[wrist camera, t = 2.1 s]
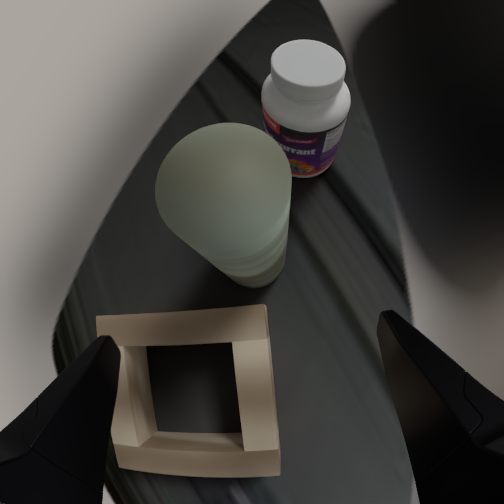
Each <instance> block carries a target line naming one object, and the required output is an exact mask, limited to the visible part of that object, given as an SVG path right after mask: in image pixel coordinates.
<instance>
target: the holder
mask: <svg viewBox="0 0 504 504" xmlns="http://www.w3.org/2000/svg"><path fill="white" fill-rule="evenodd" d="M96 325H97V338H98V337H99V336H101V335H110V336H111V337H112V338H113V340H114V341H115V343H116V344H117V346H118V348H119V349H120V352H121V362H120V371H119V382H118V392H117V398H116V404H115V409H114V415H113V420H112V426H111V435H112V440H113V444H114V449H115V453H116V457H117V461H118V465H119V468H124V469H130V470H137V471H143V472H151V473H159V474H168V475H180V476H194V477H225V478H234V477H266V476H280V468H281V451H280V441H279V430H278V419H277V409H276V398H275V388H274V378H273V368H272V358H271V348H270V338H269V328H268V318H267V308H266V305H264V304H258V305H248V306H238V307H228V308H216V309H205V310H192V311H178V312H164V313H148V314H129V315H107V316H96ZM224 342H232V346H233V356H234V366H235V375H236V384H237V393H238V402H239V411H240V419H241V427H242V432H241V433H180V432H162V431H157V425H156V419H155V413H154V406H153V400H152V393H151V385H150V378H149V369H148V361H147V351H146V346H165V345H190V344H208V343H224Z"/></svg>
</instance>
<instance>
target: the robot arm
mask: <svg viewBox="0 0 504 504" xmlns="http://www.w3.org/2000/svg"><path fill="white" fill-rule="evenodd" d="M377 337H378V341H379V346H380V350H381V355H382V360H383V365H384V370H385V374H386V378H387V381H388V384H389V388H390V391H391V394H392V397H393V400H394V404H395V407H396V410H397V414H398V417H399V421H400V424H401V428H402V431H403V435H404V439H405V442H406V446H407V450H408V454H409V458H410V462H411V466H412V470H413V474H414V478H415V481H416V482H415V483H416V488H417V492H418V497H419V502H420V504H504V401H503V400H502V399H500V398H499V397H497V396H496V395H494V394H493V393H492V392H491V391H489V390H488V389H486V388H485V387H484V386H483V385H482V384H480V383H479V382H478V381H477V380H475V378H473V377H472V376H471V375H470V374H469V373H468V372H465V370H464V369H463V368H462V367H461V366H459V365H458V364H457V363H456V362H455V361H454V360H453V359H451V358H450V357H449V356H448V355H447V354H446V353H445V352H443V351H442V350H441V349H440V348H439V347H438V346H436V345H435V344H434V343H433V342H432V341H430V340H429V339H428V338H427V337H425V336H424V335H423V334H422V333H421V332H420V331H419V330H417V329H416V328H415V327H414V326H412V325H411V324H410V323H409V322H408V321H406V320H405V319H404V318H403V317H402V316H400V315H399V314H398V313H397V312H395V311H394V310H387V311H382V312H381V313H380V316H379V321H378V326H377ZM120 362H121V352H120V349H119V348H118V346H117V344H116V343H115V341H114V340H113V338H112V337H111V336H110V335H101V336H99V337H98V338H97V339H96V340H94V341H93V342H92V343H91V344H90V345H89V346H88V347H87V348H86V349H85V350H84V351H83V352H82V353H81V354H80V355H79V356H78V357H77V358H76V359H75V360H74V361H73V362H72V363H71V364H70V365H69V366H68V367H67V368H66V369H65V370H64V371H63V372H62V373H61V374H60V375H59V376H58V377H57V378H56V379H55V380H54V381H53V382H52V383H51V384H50V385H49V386H48V387H47V388H46V389H45V390H44V391H43V392H42V393H41V394H40V395H39V396H38V398H36V399H35V400H34V401H33V402H32V403H31V404H30V405H29V406H28V407H27V408H26V409H25V410H24V411H23V412H22V413H21V414H20V415H19V416H18V417H17V418H16V419H14V420H13V421H12V422H11V423H10V424H9V425H8V426H6V427H5V428H4V429H3V430H2V431H1V432H0V504H102V498H103V486H104V477H105V468H106V460H107V453H108V446H109V439H110V433H111V426H112V420H113V415H114V409H115V404H116V398H117V392H118V382H119V371H120Z"/></svg>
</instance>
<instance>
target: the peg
mask: <svg viewBox="0 0 504 504" xmlns="http://www.w3.org/2000/svg"><path fill="white" fill-rule="evenodd" d="M291 185H292V175H291V168H290V164H289V161H288V159H287V156H286V154H285V153H284V151H283V149H282V148H281V147H280V145H279V144H278V143H277V142H276V141H275V140H274V139H273V138H272V137H270V136H269V135H268V134H266V133H265V132H263V131H261V130H259V129H257V128H254V127H252V126H249V125H245V124H239V123H220V124H214V125H209V126H206V127H203V128H201V129H198V130H196V131H194V132H192V133H191V134H189V135H187V136H186V137H184V138H183V139H182V140H180V141H179V142H178V143H177V144H176V145H175V146H174V147H173V148H172V149H171V150H170V152H169V153H168V154H167V156H166V157H165V159H164V161H163V162H162V164H161V166H160V169H159V172H158V175H157V179H156V185H155V198H156V203H157V207H158V210H159V213H160V215H161V217H162V219H163V221H164V222H165V223H166V225H167V226H168V227H169V228H170V229H171V230H172V231H173V232H174V233H175V234H176V235H177V236H178V237H179V238H181V239H182V240H183V241H184V242H186V243H187V244H188V245H189V246H191V247H192V248H193V249H194V250H195V251H197V252H198V253H199V254H200V255H202V256H203V257H204V258H205V259H207V260H208V261H209V262H210V263H212V264H213V265H214V266H215V267H217V268H218V269H219V270H220V271H222V272H223V273H224V274H225V275H227V276H228V277H229V278H230V279H232V280H233V281H234V282H236V283H237V284H239V285H241V286H244V287H247V288H260V287H264V286H266V285H268V284H270V283H272V282H273V281H274V280H276V279H277V277H278V276H279V275H280V274H281V272H282V270H283V268H284V265H285V258H286V247H287V236H288V224H289V212H290V199H291Z"/></svg>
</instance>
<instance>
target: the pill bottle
mask: <svg viewBox="0 0 504 504" xmlns="http://www.w3.org/2000/svg"><path fill="white" fill-rule="evenodd" d="M345 70H346V66H345V62H344V59H343V58H342V56H341V55H340V54H339V53H338V52H337V51H336V50H335V49H334V48H332V47H330V46H329V45H326V44H324V43H321V42H318V41H313V40H294V41H290V42H287V43H285V44H283V45H281V46H280V47H278V48H277V49H276V50H275V51H274V53H273V54H272V57H271V74H270V75H269V76H268V77H267V78H266V80H265V82H264V84H263V87H262V107H263V116H264V128H265V133H266V134H268V135H269V136H270V137H272V138H273V139H274V140H275V141H276V142H277V143H278V144H279V145H280V147H281V148H282V149H283V151H284V153H285V154H286V156H287V159H288V161H289V164H290V168H291V175H292V176H293V177H298V178H308V177H313V176H316V175H319V174H321V173H322V172H324V171H325V170H326V169H327V168H328V167H329V166H330V165H331V163H332V161H333V159H334V157H335V154H336V151H337V147H338V144H339V141H340V138H341V135H342V131H343V128H344V125H345V122H346V118H347V115H348V112H349V107H350V93H349V90H348V87H347V85H346V84H345V82H344V81H343V80H344V76H345Z"/></svg>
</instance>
